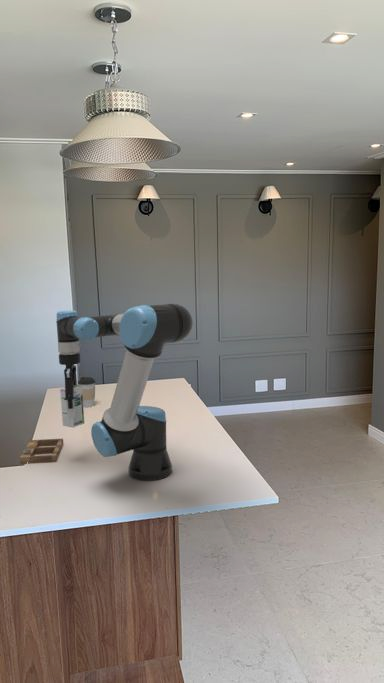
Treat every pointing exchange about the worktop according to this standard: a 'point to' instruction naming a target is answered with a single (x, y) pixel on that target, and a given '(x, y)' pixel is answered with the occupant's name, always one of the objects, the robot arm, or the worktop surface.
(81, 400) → the syrup box
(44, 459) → the socket board
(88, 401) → the coffee cup
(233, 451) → the worktop surface
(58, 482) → the worktop surface
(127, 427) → the robot arm
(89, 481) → the worktop surface
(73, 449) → the worktop surface
